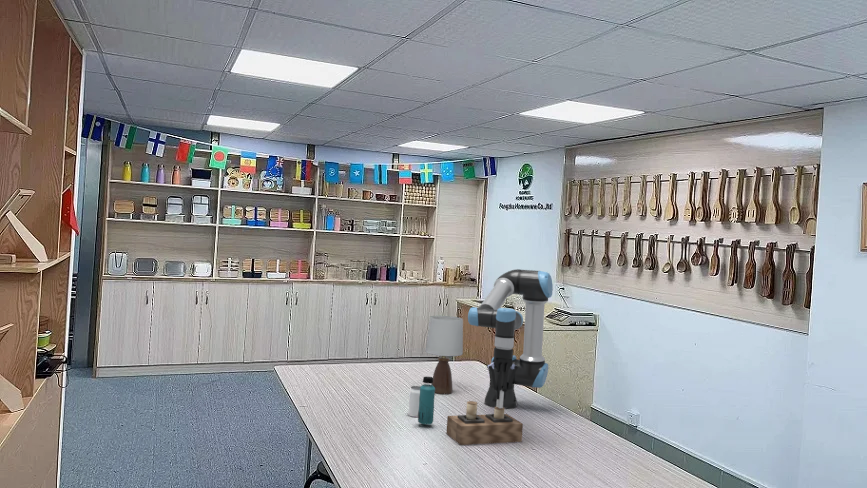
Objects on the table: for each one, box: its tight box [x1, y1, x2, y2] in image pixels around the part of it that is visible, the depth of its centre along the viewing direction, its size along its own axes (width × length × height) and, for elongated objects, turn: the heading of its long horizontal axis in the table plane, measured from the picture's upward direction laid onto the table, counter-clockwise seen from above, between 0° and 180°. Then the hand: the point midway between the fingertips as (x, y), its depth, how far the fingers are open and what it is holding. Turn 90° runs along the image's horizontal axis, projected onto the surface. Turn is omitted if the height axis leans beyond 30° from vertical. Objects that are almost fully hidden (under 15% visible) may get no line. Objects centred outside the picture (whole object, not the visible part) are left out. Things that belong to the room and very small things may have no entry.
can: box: [407, 385, 421, 418], centre depth 281 cm, size 6×6×12 cm
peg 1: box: [465, 400, 478, 420], centre depth 254 cm, size 4×4×8 cm
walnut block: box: [445, 413, 524, 446], centre depth 256 cm, size 26×14×8 cm, turn 110°
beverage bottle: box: [417, 376, 436, 425], centre depth 267 cm, size 6×7×20 cm
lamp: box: [425, 315, 464, 395], centre depth 327 cm, size 19×19×37 cm
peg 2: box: [493, 407, 506, 419], centre depth 258 cm, size 4×4×8 cm
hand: (499, 407), depth 258 cm, fingers closed
